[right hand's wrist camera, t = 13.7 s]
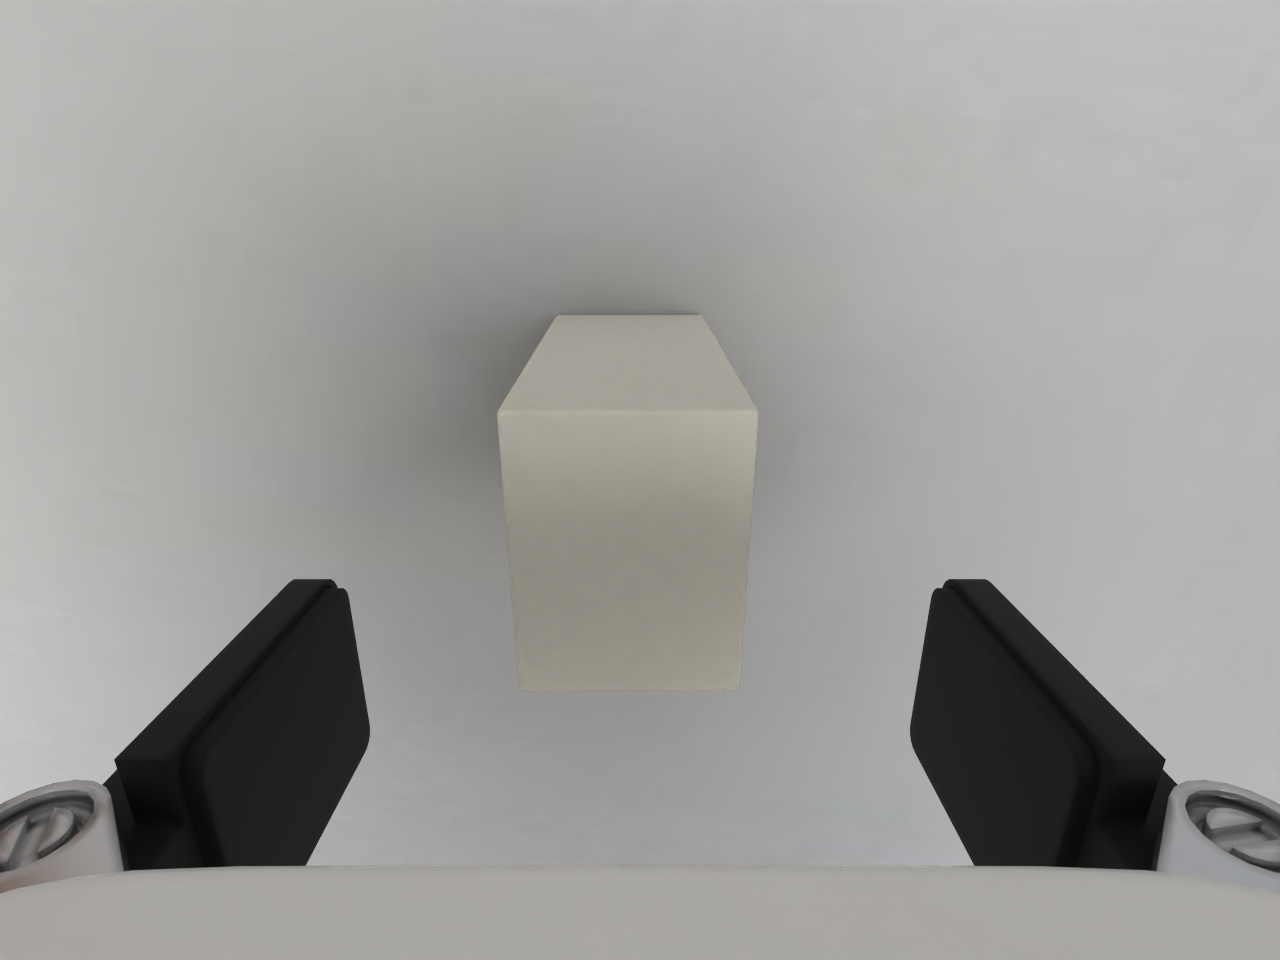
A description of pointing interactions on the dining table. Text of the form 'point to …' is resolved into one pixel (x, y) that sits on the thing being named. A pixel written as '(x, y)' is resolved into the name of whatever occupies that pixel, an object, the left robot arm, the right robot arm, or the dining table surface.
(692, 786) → the dining table surface
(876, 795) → the dining table surface
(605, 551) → the block
